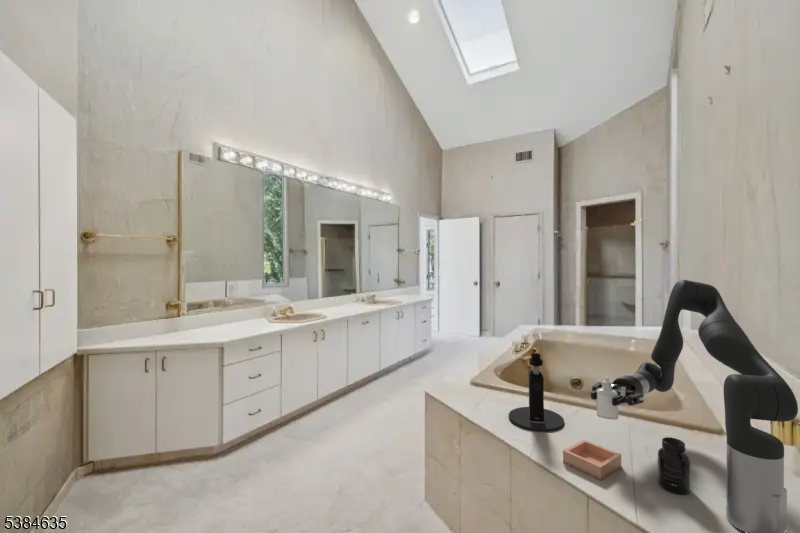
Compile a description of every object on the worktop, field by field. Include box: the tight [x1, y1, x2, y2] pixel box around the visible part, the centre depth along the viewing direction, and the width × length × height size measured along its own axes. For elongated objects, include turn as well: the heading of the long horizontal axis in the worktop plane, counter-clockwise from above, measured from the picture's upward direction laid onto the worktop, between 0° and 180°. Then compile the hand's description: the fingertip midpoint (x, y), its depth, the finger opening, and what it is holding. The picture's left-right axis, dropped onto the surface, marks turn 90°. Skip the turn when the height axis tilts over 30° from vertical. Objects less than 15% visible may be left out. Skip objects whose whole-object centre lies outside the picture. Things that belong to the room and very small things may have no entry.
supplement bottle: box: [657, 436, 692, 495], centre depth 98 cm, size 7×7×12 cm
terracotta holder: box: [562, 439, 622, 481], centre depth 110 cm, size 11×11×4 cm
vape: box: [508, 352, 565, 433], centre depth 139 cm, size 19×19×25 cm
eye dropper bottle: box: [596, 376, 619, 421], centre depth 114 cm, size 4×6×12 cm
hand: (602, 399), depth 112 cm, fingers closed on eye dropper bottle, 5 cm apart
